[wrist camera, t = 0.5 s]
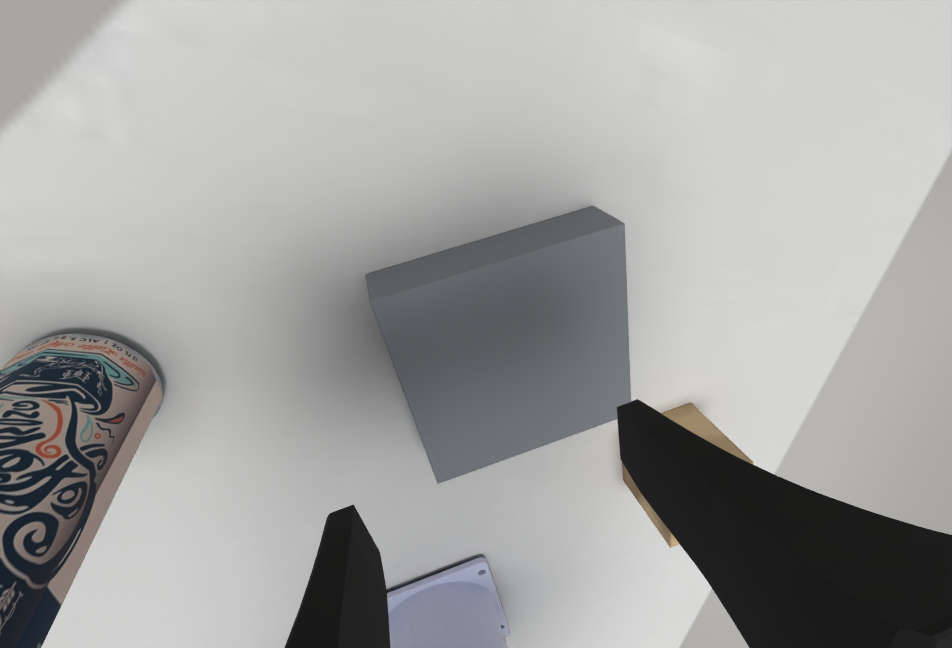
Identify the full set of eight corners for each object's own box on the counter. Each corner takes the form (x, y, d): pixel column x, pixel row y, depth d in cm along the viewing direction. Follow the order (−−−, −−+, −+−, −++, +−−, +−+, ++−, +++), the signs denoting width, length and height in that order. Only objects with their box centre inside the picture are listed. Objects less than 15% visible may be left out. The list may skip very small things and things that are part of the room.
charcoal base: (601, 378, 26) (631, 413, 23) (426, 440, 25) (437, 483, 22) (588, 202, 21) (624, 223, 18) (364, 269, 19) (370, 301, 17)
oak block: (687, 454, 31) (744, 517, 26) (622, 479, 30) (670, 547, 26) (689, 401, 28) (753, 462, 24) (619, 427, 28) (672, 493, 23)
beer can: (169, 336, 18) (-29, 685, 8) (165, 433, 20) (1, 814, 10) (8, 317, 16) (-502, 735, 6) (21, 426, 18) (-356, 879, 8)
